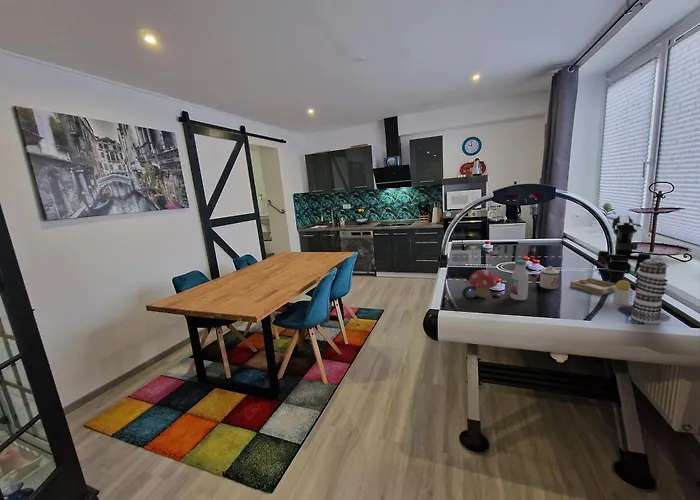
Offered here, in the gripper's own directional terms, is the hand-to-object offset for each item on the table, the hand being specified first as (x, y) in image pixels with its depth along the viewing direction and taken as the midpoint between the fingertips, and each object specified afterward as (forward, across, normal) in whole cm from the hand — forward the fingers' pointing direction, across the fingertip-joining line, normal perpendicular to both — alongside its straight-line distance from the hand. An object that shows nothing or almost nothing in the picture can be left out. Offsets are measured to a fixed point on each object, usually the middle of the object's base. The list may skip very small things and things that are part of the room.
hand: (621, 272), depth 142 cm
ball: (+8, +1, -2) cm, 9 cm away
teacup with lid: (+7, -29, +12) cm, 32 cm away
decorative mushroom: (+31, -55, -14) cm, 65 cm away
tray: (+3, -9, +16) cm, 19 cm away
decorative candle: (+26, +7, -8) cm, 28 cm away
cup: (+15, 0, +4) cm, 15 cm away
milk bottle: (+26, -39, -8) cm, 47 cm away
